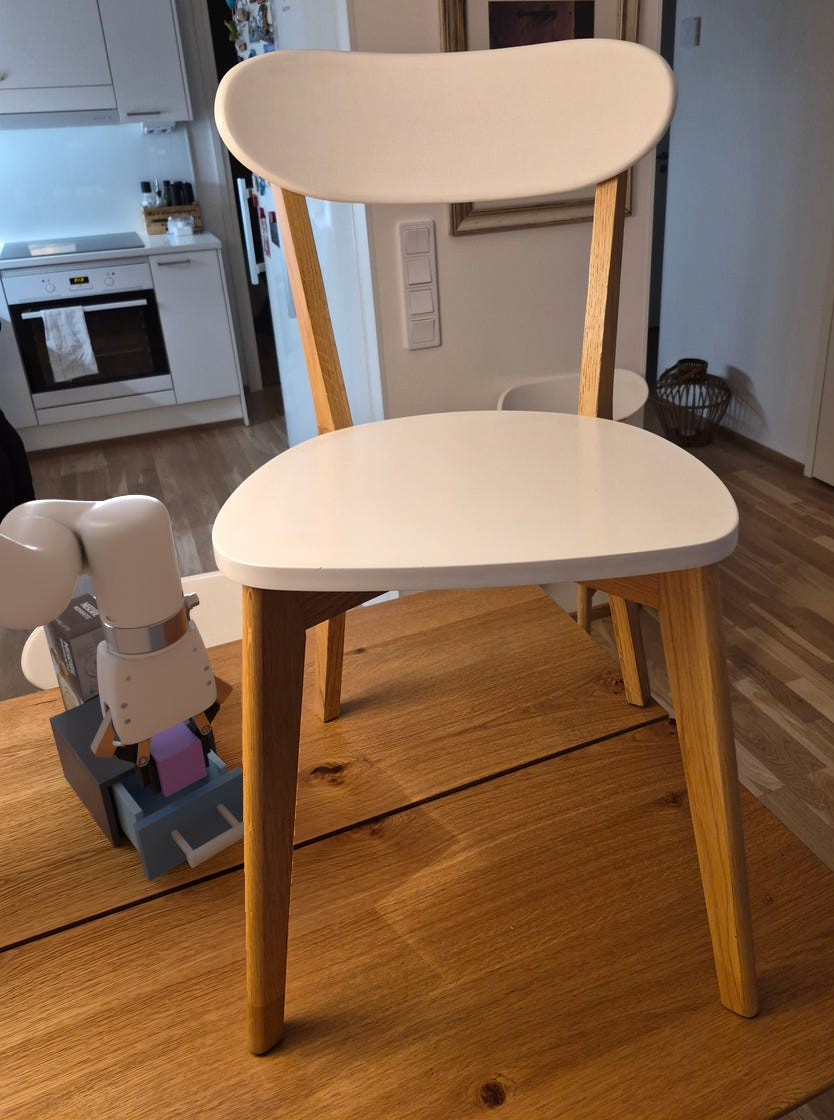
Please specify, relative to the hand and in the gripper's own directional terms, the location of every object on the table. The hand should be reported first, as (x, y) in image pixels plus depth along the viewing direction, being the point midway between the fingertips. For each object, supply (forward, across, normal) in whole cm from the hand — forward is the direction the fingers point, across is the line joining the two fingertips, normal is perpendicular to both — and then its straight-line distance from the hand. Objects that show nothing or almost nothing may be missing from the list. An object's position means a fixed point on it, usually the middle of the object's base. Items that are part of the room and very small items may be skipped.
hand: (176, 772), depth 88 cm
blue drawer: (+8, 0, -1) cm, 8 cm away
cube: (0, 0, 0) cm, 0 cm away
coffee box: (+9, -1, -26) cm, 27 cm away
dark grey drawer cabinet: (+9, 0, -12) cm, 15 cm away
